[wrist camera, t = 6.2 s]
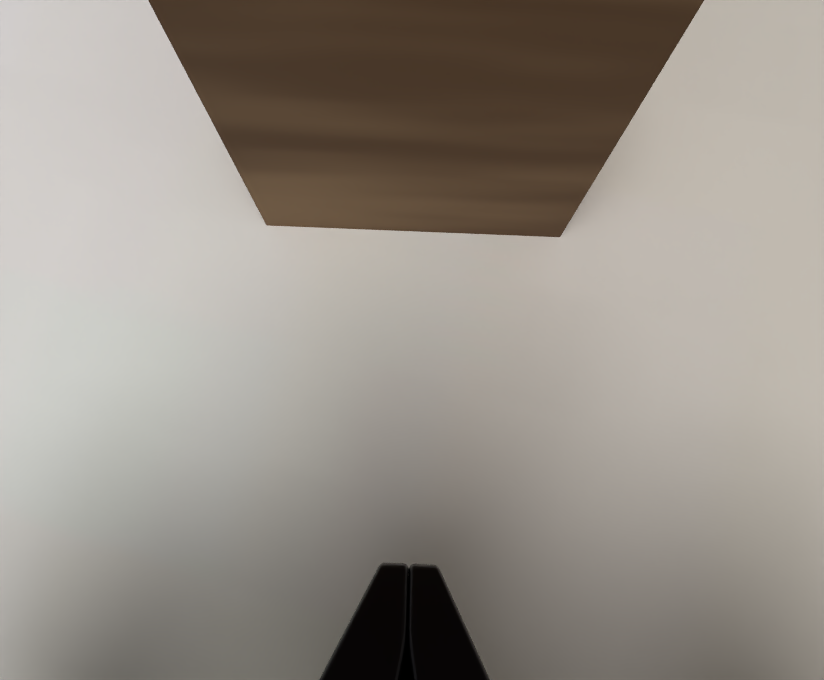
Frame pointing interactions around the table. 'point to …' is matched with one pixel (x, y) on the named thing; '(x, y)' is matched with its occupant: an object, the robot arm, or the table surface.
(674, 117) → the table surface
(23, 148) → the table surface
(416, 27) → the walnut block
